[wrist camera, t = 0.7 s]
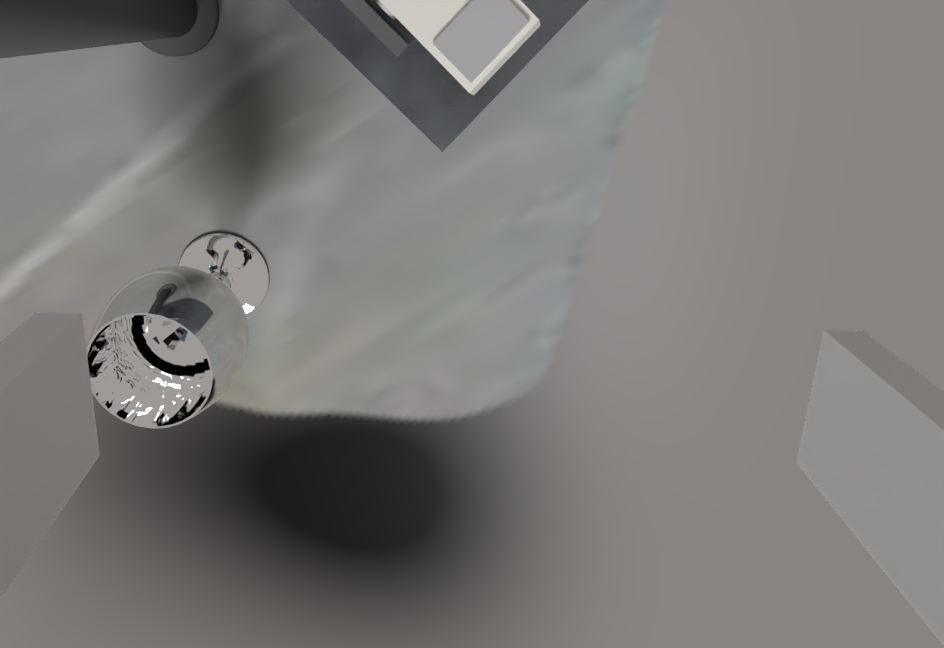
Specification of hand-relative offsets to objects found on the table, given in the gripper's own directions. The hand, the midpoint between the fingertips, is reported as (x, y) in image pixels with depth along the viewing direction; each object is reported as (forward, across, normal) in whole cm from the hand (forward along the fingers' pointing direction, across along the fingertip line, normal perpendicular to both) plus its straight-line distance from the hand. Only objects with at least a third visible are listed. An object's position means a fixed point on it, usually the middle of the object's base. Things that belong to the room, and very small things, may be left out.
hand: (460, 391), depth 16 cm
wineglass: (+28, -10, -7) cm, 30 cm away
